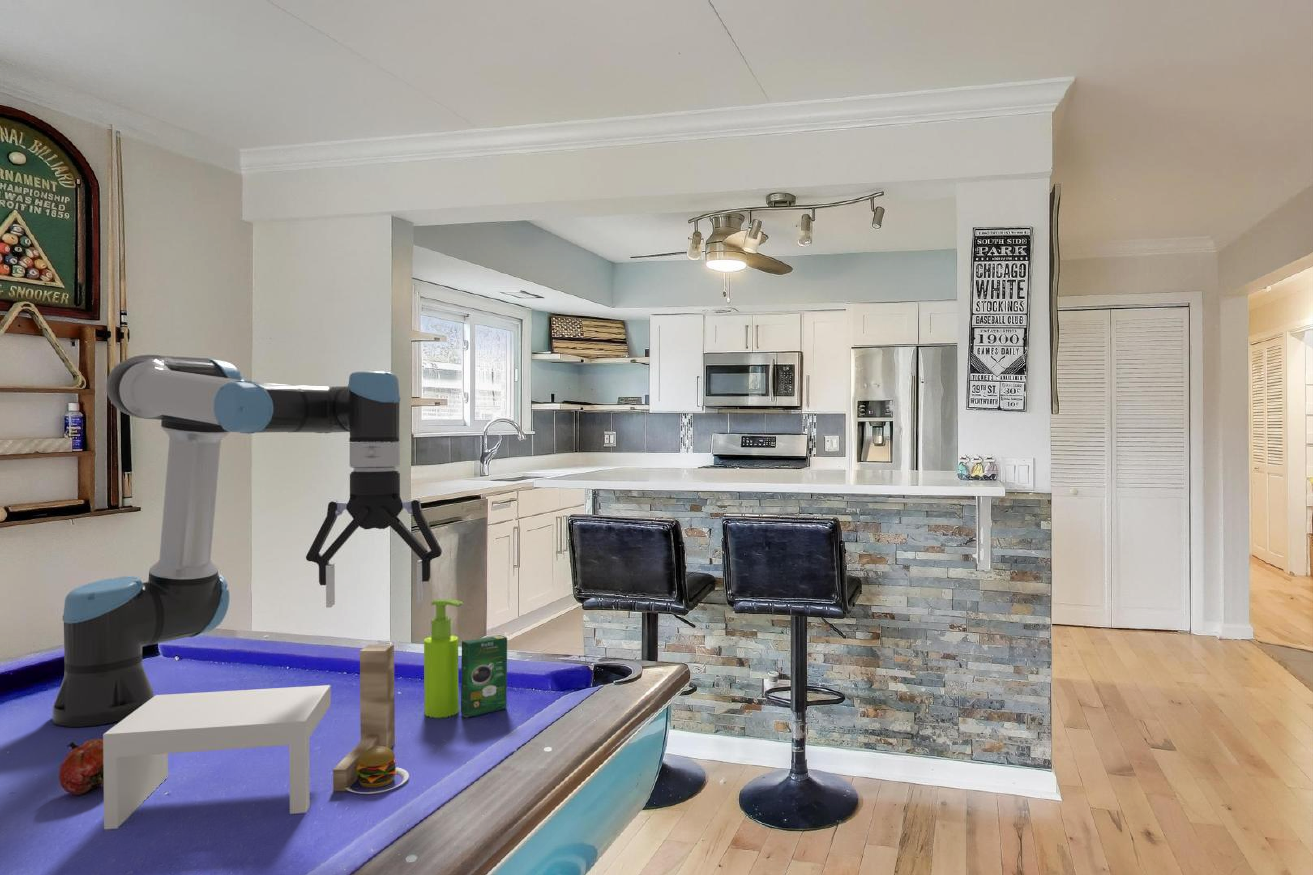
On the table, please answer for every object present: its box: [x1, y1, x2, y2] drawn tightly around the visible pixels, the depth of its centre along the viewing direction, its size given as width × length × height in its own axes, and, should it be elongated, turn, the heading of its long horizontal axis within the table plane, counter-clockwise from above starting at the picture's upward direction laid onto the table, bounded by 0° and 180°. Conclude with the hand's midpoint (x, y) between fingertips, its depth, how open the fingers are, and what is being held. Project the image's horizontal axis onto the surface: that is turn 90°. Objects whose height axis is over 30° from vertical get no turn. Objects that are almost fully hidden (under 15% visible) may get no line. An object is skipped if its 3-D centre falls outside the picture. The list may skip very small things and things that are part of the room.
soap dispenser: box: [423, 598, 464, 719], centre depth 148 cm, size 6×7×20 cm
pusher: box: [332, 643, 396, 792], centre depth 124 cm, size 18×4×16 cm, turn 179°
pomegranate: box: [58, 738, 104, 796], centre depth 116 cm, size 7×7×10 cm
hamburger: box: [345, 746, 410, 795], centre depth 118 cm, size 12×12×6 cm
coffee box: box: [460, 635, 508, 718], centre depth 148 cm, size 8×3×13 cm, turn 129°
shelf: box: [102, 684, 332, 830], centre depth 115 cm, size 16×24×12 cm, turn 100°
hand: (375, 604), depth 132 cm, fingers open, 13 cm apart
